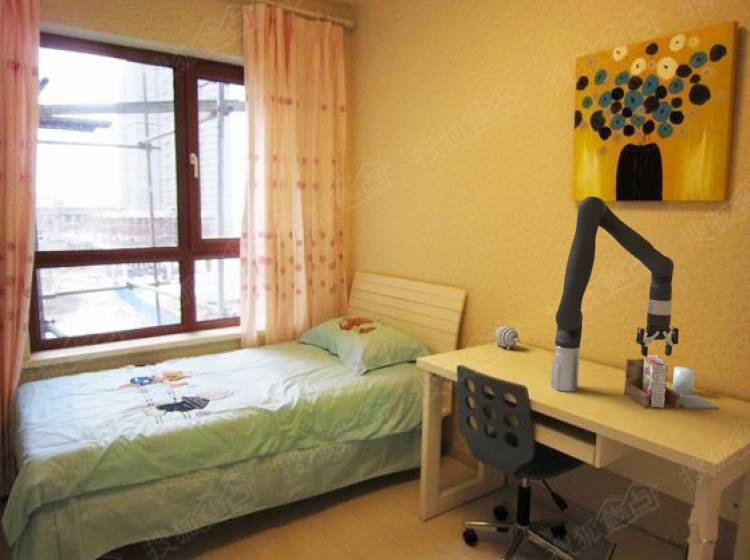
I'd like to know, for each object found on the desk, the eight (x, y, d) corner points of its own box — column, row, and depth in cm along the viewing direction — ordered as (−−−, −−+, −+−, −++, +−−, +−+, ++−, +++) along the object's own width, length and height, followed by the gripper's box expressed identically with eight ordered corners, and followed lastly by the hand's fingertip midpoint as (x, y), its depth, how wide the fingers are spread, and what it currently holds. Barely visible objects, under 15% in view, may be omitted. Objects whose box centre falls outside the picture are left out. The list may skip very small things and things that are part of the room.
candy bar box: (640, 396, 195) (643, 354, 193) (654, 397, 194) (658, 355, 192) (649, 407, 184) (653, 363, 182) (664, 408, 183) (668, 364, 181)
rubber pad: (685, 409, 183) (685, 407, 183) (665, 396, 195) (665, 395, 194) (718, 408, 183) (718, 407, 183) (696, 396, 195) (696, 394, 195)
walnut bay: (644, 408, 183) (647, 370, 181) (624, 394, 197) (626, 358, 195) (678, 408, 184) (682, 370, 182) (655, 393, 198) (658, 358, 196)
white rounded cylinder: (679, 395, 196) (681, 372, 195) (668, 388, 203) (670, 366, 202) (697, 394, 197) (699, 372, 195) (685, 388, 204) (687, 366, 202)
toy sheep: (502, 342, 271) (502, 322, 269) (526, 350, 257) (527, 328, 255) (487, 345, 266) (488, 324, 264) (511, 353, 251) (512, 331, 250)
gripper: (645, 314, 180) (642, 359, 183) (685, 313, 181) (681, 358, 183) (634, 310, 188) (631, 353, 190) (672, 309, 188) (668, 352, 191)
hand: (656, 355), depth 187 cm, fingers open, 8 cm apart
